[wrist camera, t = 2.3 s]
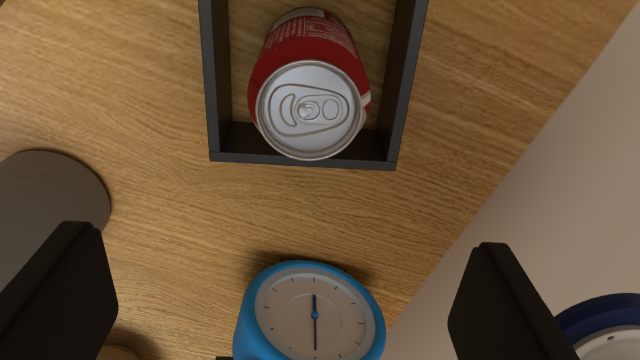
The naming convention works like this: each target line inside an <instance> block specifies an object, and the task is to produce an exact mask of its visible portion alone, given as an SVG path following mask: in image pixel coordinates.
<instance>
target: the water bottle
mask: <svg viewBox="0 0 640 360" xmlns="http://www.w3.org/2000/svg"><path fill="white" fill-rule="evenodd" d="M109 215H110V202H109V198H108V195H107V192H106V190H105V188H104V187H103V185H102V183H101V182H100V181H99V179H98V178H97V177H96V176H95V175H94V174H93V173H92V172H91V171H90V170H89V169H88V168H86V167H85V166H83V165H82V164H80V163H79V162H77V161H75V160H73V159H71V158H69V157H67V156H64V155H61V154H58V153H54V152H48V151H26V152H20V153H17V154H15V155H12V156H10V157H8V158H6V159H5V160H4V161H2V162H1V163H0V292H1V291H2V290H3V289H4V288H5V286H6V285H7V284H8V283H9V282H10V281H11V280H12V279H13V278H14V277H15V276H16V274H17V273H18V272H19V271H20V270H21V269H22V267H23V266H24V265H25V264H26V263H27V262H28V260H29V259H30V258H31V257H32V256H33V254H34V253H35V252H36V251H37V250H38V249H39V247H40V246H41V245H42V244H43V243H44V242H45V240H46V239H47V238H48V237H49V236H50V234H51V233H52V232H53V231H54V230H55V229H56V227H57V226H58V225H59V224H60V223H61V222H62V221H65V220H67V221H86V222H91V223H92V224H93V226H94V228H98V229H99V230H100V232H102V231H103V229H104V228H105V226H106V224H107V222H108V220H109Z"/></svg>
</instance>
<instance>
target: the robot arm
mask: <svg viewBox="0 0 640 360" xmlns="http://www.w3.org/2000/svg"><path fill="white" fill-rule="evenodd" d="M118 307H119V306H118V300H117V296H116V292H115V288H114V284H113V280H112V276H111V272H110V268H109V264H108V260H107V256H106V252H105V248H104V243H103V239H102V235H101V232H100V230H99V229H98V228H94V226H93V224H92V223H91V222H86V221H67V220H65V221H62V222H61V223H60V224H59V225H58V226H57V227H56V229H55V230H54V231H53V232H52V233H51V234H50V236H49V237H48V238H47V239H46V240H45V242H44V243H43V244H42V245H41V246H40V247H39V249H38V250H37V251H36V252H35V253H34V254H33V256H32V257H31V258H30V259H29V260H28V262H27V263H26V264H25V265H24V266H23V267H22V269H21V270H20V271H19V272H18V273H17V274H16V276H15V277H14V278H13V279H12V280H11V281H10V282H9V283H8V284H7V285H6V286H5V288H4V289H3V290H2V291H1V292H0V360H96V358H97V356H98V354H99V352H100V350H101V348H102V346H103V344H104V342H105V340H106V338H107V336H108V334H109V332H110V330H111V328H112V326H113V324H114V322H115V320H116V318H117V315H118ZM448 331H449V334H450V337H451V340H452V343H453V346H454V349H455V352H456V354H457V357H458V360H640V325H617V326H613V327H608V328H605V329H601V330H598V331H596V332H594V333H591V334H589V335H587V336H585V337H584V338H582V339H580V340H579V341H577V342H576V343H575V344H573V345H571V344H570V342H569V340H568V339H567V337H566V336H565V334H564V332H563V331H562V329H561V328H560V326H559V324H558V323H557V321H556V320H555V318H554V317H553V315H552V314H551V312H550V310H549V309H548V307H547V306H546V304H545V303H544V302H543V300H542V299H541V297H540V295H539V294H538V292H537V291H536V289H535V287H534V286H533V284H532V283H531V281H530V279H529V278H528V276H527V275H526V273H525V272H524V270H523V268H522V267H521V265H520V264H519V262H518V260H517V259H516V257H515V256H514V254H513V252H512V251H511V249H510V248H509V246H508V245H507V244H505V243H493V242H482V243H481V244H480V245H479V247H475V248H473V250H472V252H471V255H470V257H469V260H468V263H467V266H466V269H465V271H464V274H463V277H462V280H461V283H460V286H459V288H458V291H457V294H456V297H455V300H454V302H453V305H452V308H451V311H450V314H449V316H448Z"/></svg>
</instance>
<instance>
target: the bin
mask: <svg viewBox="0 0 640 360" xmlns="http://www.w3.org/2000/svg"><path fill="white" fill-rule="evenodd" d="M428 2H429V0H397V3H396V9H395V16H394V22H393V28H392V34H391V41H390V47H389V53H388V59H387V66H386V72H385V78H384V85H383V91H382V97H381V103H380V110H379V116H378V122H377V128H376V131H373V130H360V131H359V132H358V133H357V135H356V136H355V137H354V139H353V140H352V141H351V143H350V144H349V145H348V146H347V147H346V148H344V149H343V150H342V151H340V152H339V153H337V154H335V155H333V156H331V157H329V158H326V159H322V160H316V161H303V160H297V159H293V158H290V157H287V156H285V155H283V154H281V153H280V152H278V151H277V150H275V149H274V148H273V147H272V146H271V145H270V144H269V143H268V142H267V141H266V140H265V138H264V137H263V135H262V134H261V133H260V132H259V130H258V129H257V127H256V126H255V124H254V123H241V122H232V102H231V75H230V49H229V22H228V0H198V7H199V20H200V34H201V48H202V62H203V76H204V89H205V103H206V117H207V131H208V145H209V158H210V161H216V162H234V163H252V164H271V165H289V166H307V167H325V168H344V169H362V170H380V171H395V170H396V165H397V160H398V155H399V150H400V145H401V139H402V134H403V129H404V124H405V119H406V114H407V109H408V104H409V99H410V94H411V89H412V84H413V79H414V73H415V68H416V63H417V58H418V53H419V48H420V43H421V38H422V33H423V28H424V23H425V18H426V12H427V7H428Z"/></svg>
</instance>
